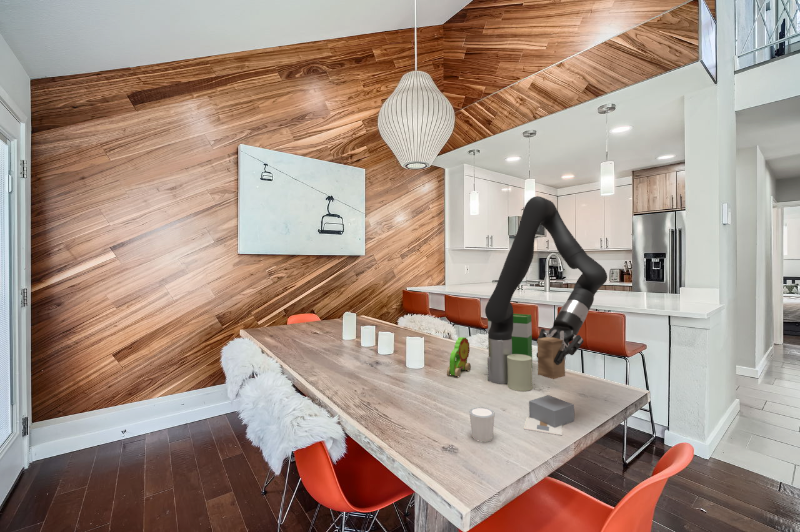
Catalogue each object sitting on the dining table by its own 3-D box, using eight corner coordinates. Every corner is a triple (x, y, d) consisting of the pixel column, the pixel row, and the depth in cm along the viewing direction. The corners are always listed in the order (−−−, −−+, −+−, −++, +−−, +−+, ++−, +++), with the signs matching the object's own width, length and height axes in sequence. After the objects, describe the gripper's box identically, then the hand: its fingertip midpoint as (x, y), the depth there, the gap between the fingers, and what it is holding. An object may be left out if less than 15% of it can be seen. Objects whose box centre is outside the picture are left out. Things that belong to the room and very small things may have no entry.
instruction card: (523, 429, 102) (523, 428, 102) (526, 417, 109) (526, 417, 109) (561, 435, 97) (561, 434, 97) (562, 423, 105) (562, 422, 105)
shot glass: (466, 431, 101) (466, 407, 101) (490, 430, 101) (489, 406, 101) (473, 444, 94) (473, 417, 94) (498, 442, 95) (498, 416, 95)
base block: (529, 416, 109) (529, 400, 109) (548, 410, 114) (548, 394, 114) (554, 428, 102) (554, 411, 101) (574, 420, 106) (573, 404, 106)
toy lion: (457, 378, 147) (456, 342, 146) (446, 376, 150) (445, 340, 150) (473, 368, 159) (472, 335, 159) (462, 367, 163) (461, 334, 162)
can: (514, 381, 142) (514, 351, 142) (536, 386, 135) (536, 355, 135) (502, 387, 135) (502, 356, 135) (525, 393, 129) (525, 360, 129)
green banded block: (488, 366, 163) (487, 314, 163) (494, 362, 169) (493, 312, 169) (528, 372, 153) (527, 317, 153) (532, 367, 159) (531, 314, 159)
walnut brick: (538, 374, 109) (537, 338, 109) (549, 371, 111) (548, 336, 111) (553, 379, 104) (552, 342, 104) (565, 375, 107) (564, 339, 107)
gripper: (546, 307, 117) (522, 348, 111) (587, 312, 105) (562, 358, 99) (556, 321, 120) (533, 362, 114) (598, 328, 108) (574, 374, 102)
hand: (547, 360), depth 107 cm, fingers closed on walnut brick, 5 cm apart
